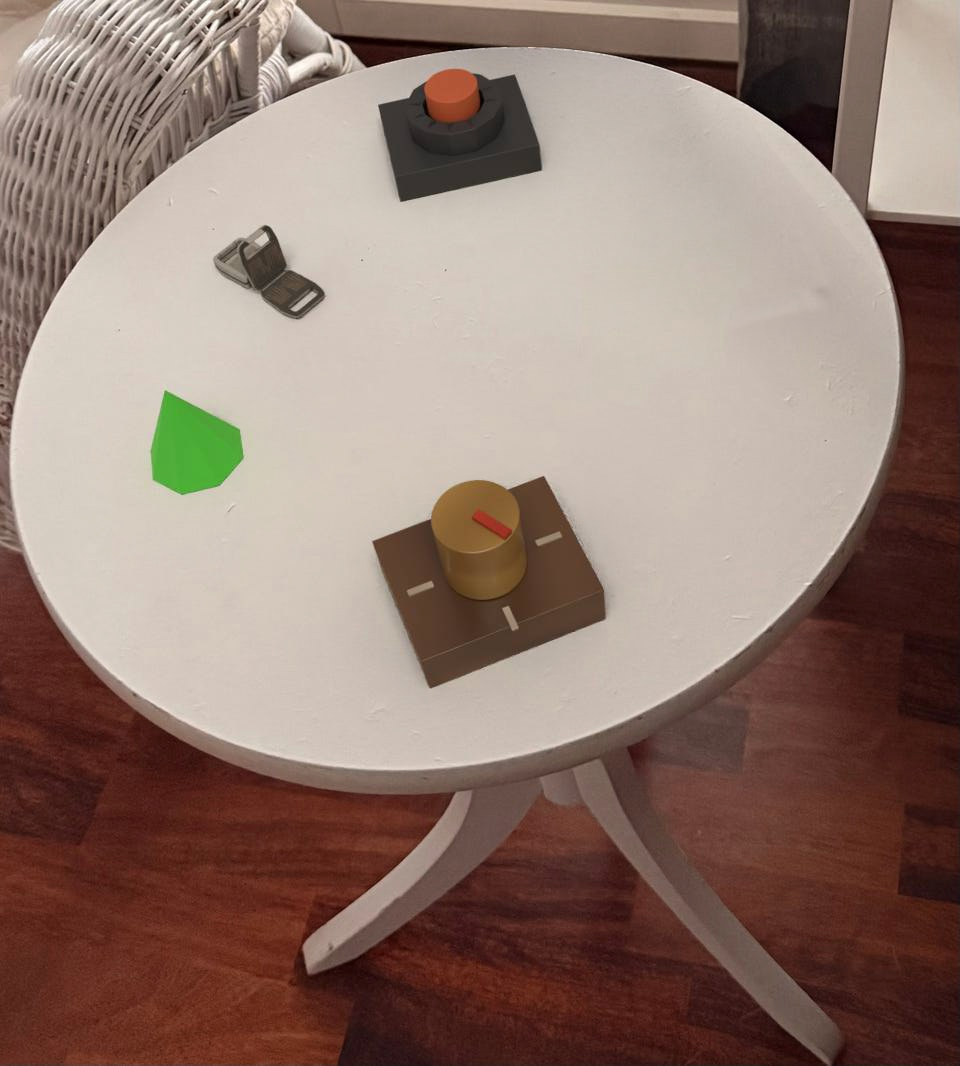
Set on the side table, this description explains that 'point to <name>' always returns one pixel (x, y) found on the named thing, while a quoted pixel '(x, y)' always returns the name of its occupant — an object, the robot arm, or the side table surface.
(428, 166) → the button box
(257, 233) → the strap clip
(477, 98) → the button
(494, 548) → the knob
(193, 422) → the gemstone
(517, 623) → the panel
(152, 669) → the side table surface
